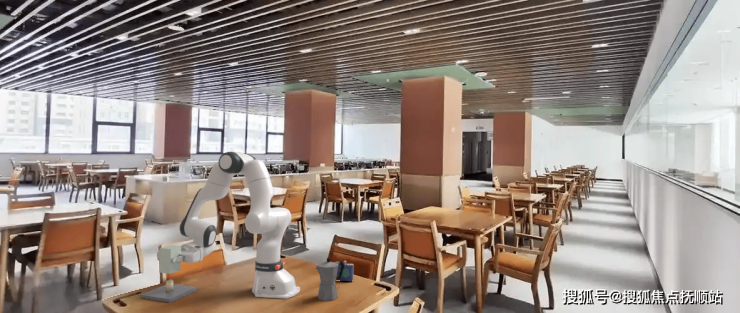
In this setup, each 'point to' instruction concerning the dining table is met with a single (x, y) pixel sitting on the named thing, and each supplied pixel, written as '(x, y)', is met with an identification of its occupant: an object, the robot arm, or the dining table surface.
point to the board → (168, 292)
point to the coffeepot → (328, 279)
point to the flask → (346, 272)
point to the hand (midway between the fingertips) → (165, 259)
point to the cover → (169, 259)
